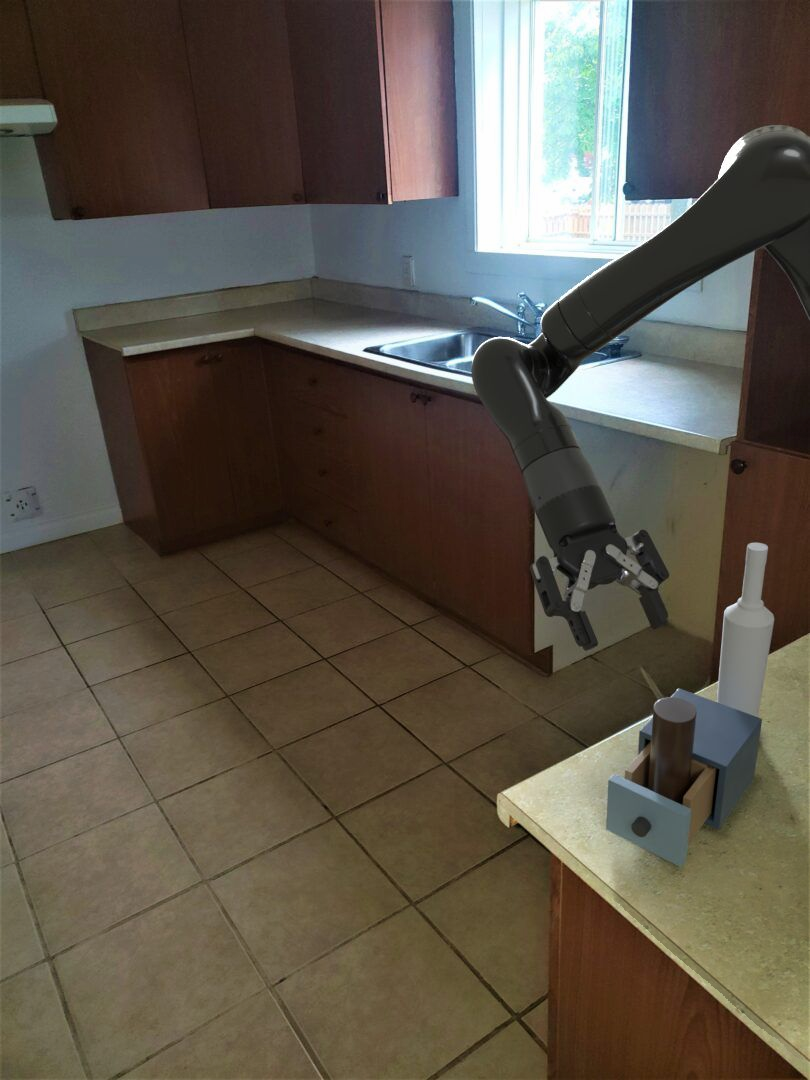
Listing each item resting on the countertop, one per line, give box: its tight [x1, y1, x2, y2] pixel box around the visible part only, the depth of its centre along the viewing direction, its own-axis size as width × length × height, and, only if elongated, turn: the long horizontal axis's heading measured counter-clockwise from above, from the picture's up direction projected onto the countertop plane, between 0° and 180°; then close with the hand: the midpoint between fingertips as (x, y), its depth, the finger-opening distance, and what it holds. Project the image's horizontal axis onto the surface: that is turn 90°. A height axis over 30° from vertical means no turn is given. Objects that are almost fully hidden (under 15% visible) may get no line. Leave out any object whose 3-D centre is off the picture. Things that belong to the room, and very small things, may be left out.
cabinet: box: [637, 687, 763, 831], centre depth 89 cm, size 9×9×8 cm
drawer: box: [605, 742, 716, 868], centre depth 83 cm, size 10×8×7 cm
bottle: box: [716, 542, 775, 718], centre depth 92 cm, size 5×5×25 cm
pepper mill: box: [648, 696, 697, 805], centre depth 82 cm, size 4×4×13 cm
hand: (626, 637), depth 84 cm, fingers open, 8 cm apart
